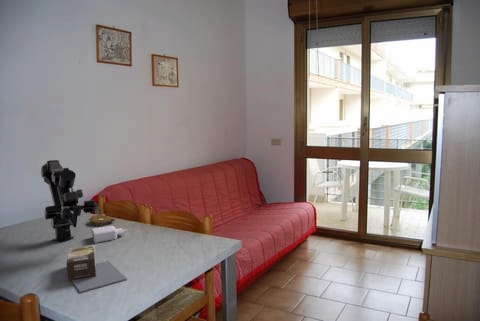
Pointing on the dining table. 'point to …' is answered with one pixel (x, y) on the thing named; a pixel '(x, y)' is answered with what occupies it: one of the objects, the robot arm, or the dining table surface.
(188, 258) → the dining table surface
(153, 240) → the dining table surface
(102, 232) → the charger
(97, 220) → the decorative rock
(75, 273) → the coffee box
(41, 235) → the dining table surface
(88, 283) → the mat
